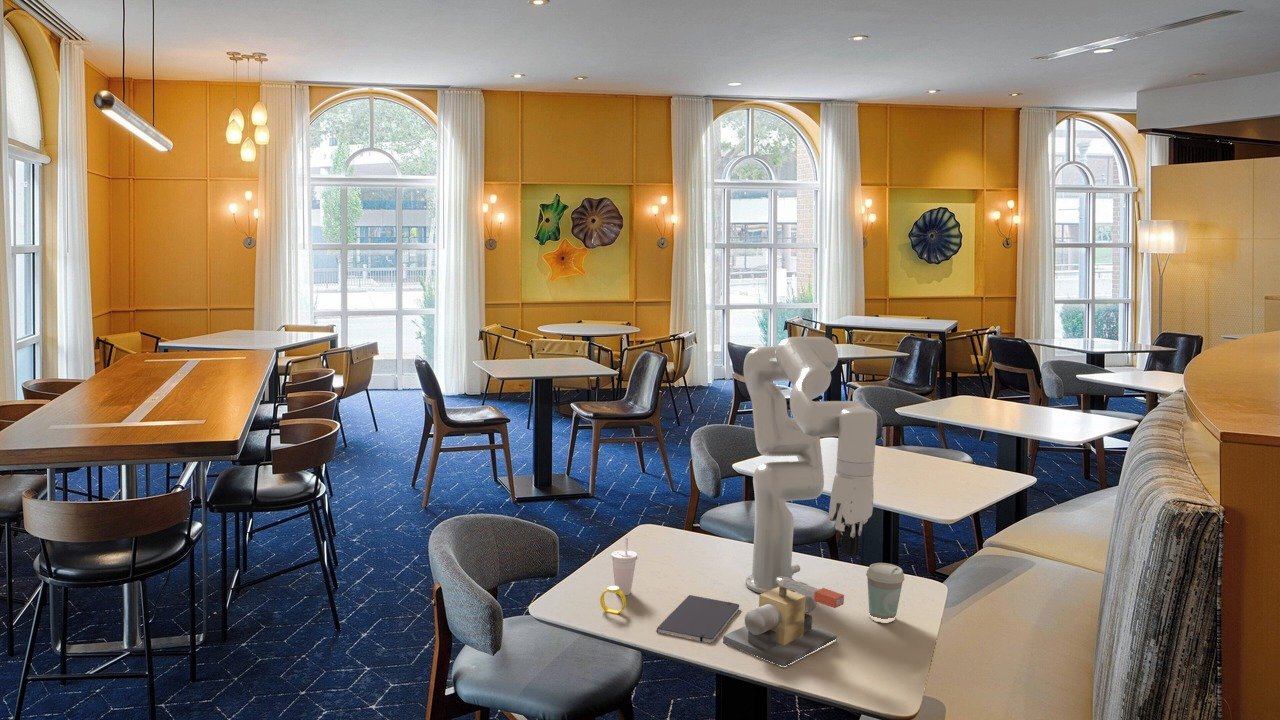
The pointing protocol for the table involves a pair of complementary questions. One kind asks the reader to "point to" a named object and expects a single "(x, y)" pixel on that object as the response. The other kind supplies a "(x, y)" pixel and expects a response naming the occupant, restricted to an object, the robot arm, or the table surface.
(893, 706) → the table surface
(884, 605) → the coffee cup
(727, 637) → the valve stand
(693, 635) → the notebook
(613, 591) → the watch
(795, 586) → the lever
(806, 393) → the robot arm
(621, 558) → the smoothie
